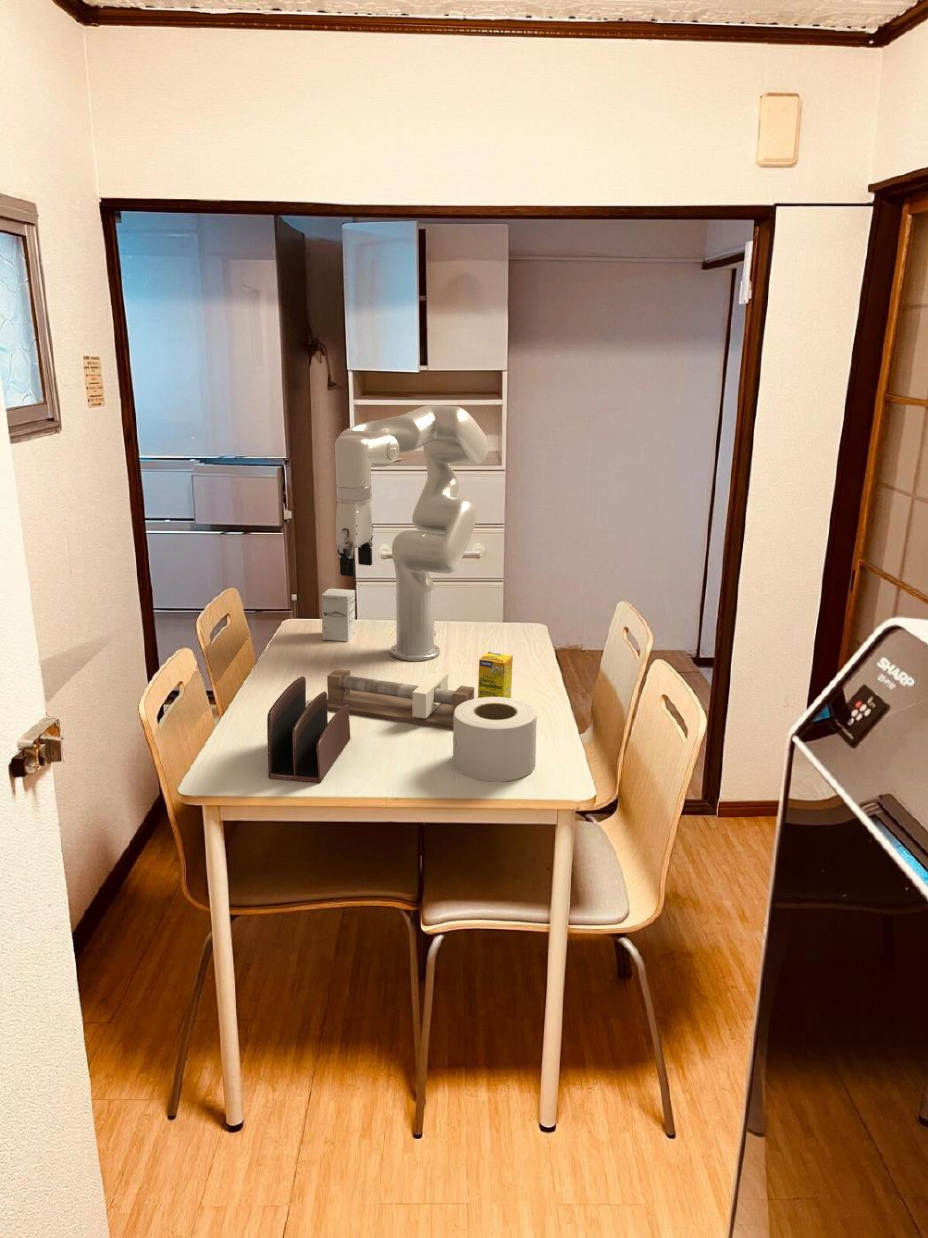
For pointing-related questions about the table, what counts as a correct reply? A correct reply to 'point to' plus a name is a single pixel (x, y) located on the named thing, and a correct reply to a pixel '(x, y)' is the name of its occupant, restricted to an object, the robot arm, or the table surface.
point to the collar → (428, 695)
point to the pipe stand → (391, 699)
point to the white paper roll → (494, 739)
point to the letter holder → (304, 735)
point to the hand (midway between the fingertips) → (356, 570)
